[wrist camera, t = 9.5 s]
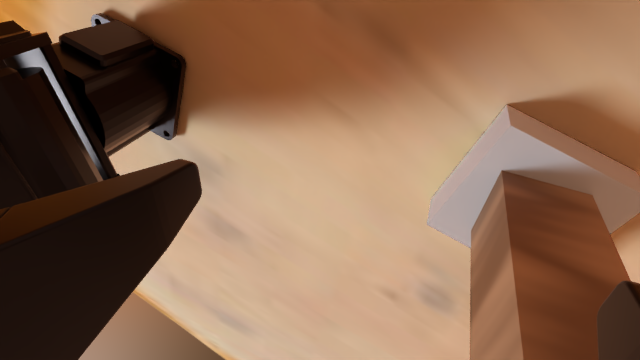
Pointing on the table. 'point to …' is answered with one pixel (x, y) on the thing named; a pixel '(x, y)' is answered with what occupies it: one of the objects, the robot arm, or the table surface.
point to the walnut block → (539, 272)
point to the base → (531, 174)
